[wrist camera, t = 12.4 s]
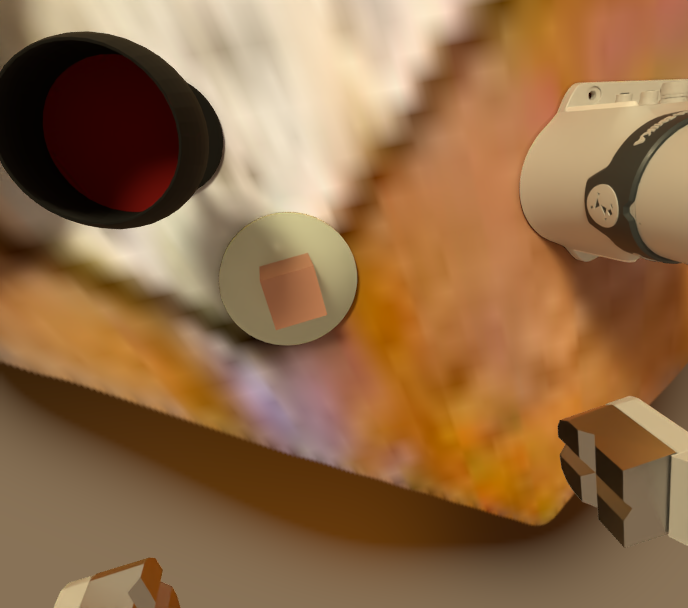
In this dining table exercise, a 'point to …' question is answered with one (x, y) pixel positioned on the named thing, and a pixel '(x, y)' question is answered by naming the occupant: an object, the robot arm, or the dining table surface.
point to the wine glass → (104, 130)
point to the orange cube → (292, 291)
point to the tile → (275, 245)
